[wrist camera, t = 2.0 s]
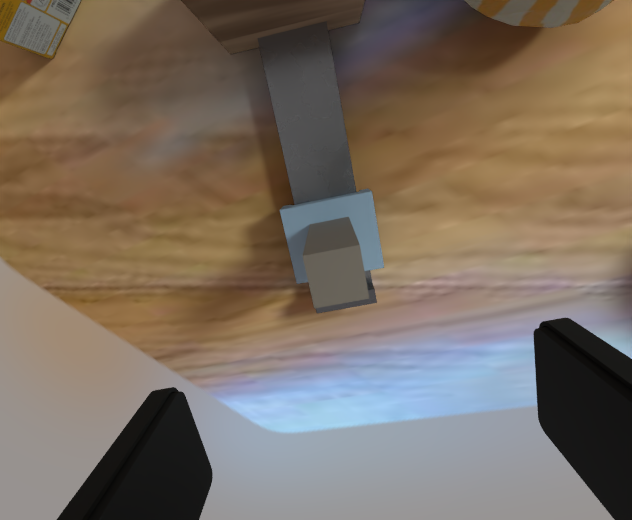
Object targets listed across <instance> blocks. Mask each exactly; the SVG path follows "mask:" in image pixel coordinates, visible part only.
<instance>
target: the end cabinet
mask: <svg viewBox="0 0 632 520" xmlns="http://www.w3.org/2000/svg"><path fill="white" fill-rule="evenodd" d="M181 1H182V2H183V3H184V4H185V5H186V6H187V7H188V8H189V9H190V11H191V12H192V13H193V14H194V15H195V16H196V17H197V18H198V19H199V20H200V21H201V22H202V24H203V25H204V26H205V27H206V28H207V29H208V30H209V31H210V32H211V33H212V34H213V35H214V37H215V38H216V39H217V40H218V41H219V42H220V43H221V44H222V45H223V46H224V47H225V49H226V50H227V51H228V52H229V53H230V54H234V53H238V52H242V51H246V50H250V49H254V48H258V47H259V43H258V39H257V38H260V37H264V36H268V35H272V34H276V33H280V32H284V31H288V30H292V29H296V28H300V27H305V26H309V25H313V24H317V23H321V22H325V21H327V26H328V30H332V29H336V28H340V27H344V26H348V25H352V24H356V23H359V22H360V18H361V14H362V10H363V6H364V2H365V0H181Z"/></svg>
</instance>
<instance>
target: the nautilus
mask: <svg viewBox="0 0 632 520" xmlns="http://www.w3.org/2000/svg"><path fill="white" fill-rule="evenodd" d="M464 1H465V2H467V3H468V4H469V5H470V6H471V7H472V8H474V9H475V10H477V11H479V12H480V13H482V14H484V15H485V16H487V17H489V18H492V19H495V20H498V21H501V22H504V23H506V24H509V25H512V26H530V27H548V28H553V27H558V26H563V25H568V24H574V23H578V22H580V21H582V20H584V19H585V18H587V17H589V16H591V15H592V14H594V13H596V12H598V11H599V10H601V9H602V8H604V7H605V6H607V5H608V4H609V3H611V2H612V1H614V0H464Z"/></svg>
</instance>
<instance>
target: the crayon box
mask: <svg viewBox="0 0 632 520" xmlns="http://www.w3.org/2000/svg"><path fill="white" fill-rule="evenodd" d="M80 1H81V0H0V41H2V42H5V43H8V44H10V45H13V46H16V47H19V48H21V49H24V50H27V51H30V52H32V53H35V54H38V55H41V56H43V57H46V58H49V59H53V58H54V56H55V54H56V50H57V48H58V46H59V44H60V42H61V39H62V38H63V35H64V33H65V31H66V29H67V27H68V25H69V23H70V21H71V19H72V18H73V16H74V13H75V12H76V9H77V7H78V5H79V4H80Z"/></svg>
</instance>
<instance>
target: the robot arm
mask: <svg viewBox="0 0 632 520" xmlns="http://www.w3.org/2000/svg"><path fill="white" fill-rule="evenodd" d="M534 350H535V368H536V386H537V404H538V418H539V422H540V425H541V427H542V429H543V431H544V432H545V434H546V435H547V436H548V437H549V439H550V440H551V441H552V442H553V444H554V445H555V446H556V447H557V448H558V450H559V451H560V452H561V453H562V455H563V456H564V457H565V458H566V460H567V461H568V462H569V463H570V465H571V466H572V467H573V468H574V470H575V471H576V472H577V473H578V475H579V476H580V477H581V478H582V479H583V481H584V482H585V483H586V484H587V486H588V487H589V488H590V489H591V491H592V492H593V493H594V495H595V496H596V497H597V498H598V499H599V501H600V502H601V503H602V505H603V506H604V507H605V508H606V509H607V511H608V512H609V513H610V514H611V516H612V517H613V518H614V519H615V520H632V359H631V358H629V357H628V356H626V355H625V354H623V353H622V352H620V351H619V350H617V349H615V348H614V347H612V346H611V345H609V344H608V343H606V342H605V341H603V340H602V339H600V338H599V337H597V336H596V335H594V334H593V333H591V332H589V331H588V330H586V329H585V328H583V327H582V326H580V325H579V324H577V323H576V322H574V321H573V320H571V319H569V318H561V319H555V320H549V321H544V322H542V323H541V324H540V326H539V328H538V329H535V331H534ZM211 483H212V469H211V465H210V463H209V460H208V457H207V455H206V451H205V449H204V446H203V443H202V441H201V438H200V435H199V432H198V430H197V427H196V424H195V422H194V419H193V416H192V413H191V410H190V408H189V405H188V402H187V400H186V397H185V395H184V393H183V392H179V391H178V390H177V389H176V388H174V387H172V388H166V389H161V390H155V391H152V392H151V393H150V394H149V396H148V397H147V398H146V400H145V401H144V402H143V404H142V405H141V406H140V408H139V409H138V410H137V412H136V413H135V415H134V416H133V417H132V419H131V420H130V421H129V423H128V424H127V425H126V427H125V428H124V429H123V431H122V432H121V433H120V435H119V436H118V437H117V439H116V440H115V442H114V443H113V444H112V446H111V447H110V448H109V450H108V451H107V452H106V454H105V455H104V456H103V458H102V459H101V461H100V462H99V463H98V465H97V466H96V467H95V469H94V470H93V471H92V473H91V474H90V476H89V477H88V478H87V480H86V481H85V482H84V483H83V485H82V486H81V487H80V489H79V490H78V492H77V493H76V494H75V496H74V497H73V498H72V500H71V501H70V502H69V504H68V505H67V507H66V508H65V509H64V510H63V512H62V513H61V515H60V516H59V517H58V519H57V520H199V518H200V515H201V512H202V509H203V506H204V504H205V500H206V498H207V495H208V492H209V489H210V486H211Z"/></svg>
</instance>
